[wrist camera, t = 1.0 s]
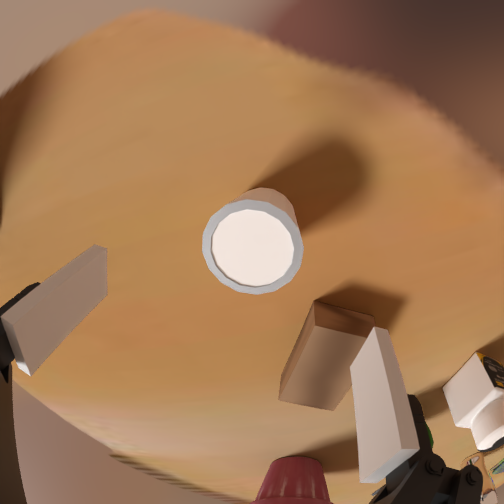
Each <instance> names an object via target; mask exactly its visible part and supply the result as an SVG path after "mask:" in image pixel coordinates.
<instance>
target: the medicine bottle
mask: <svg viewBox="0 0 504 504" xmlns="http://www.w3.org/2000/svg"><path fill="white" fill-rule="evenodd" d="M443 391H444V394H445V397H446V399H447V402H448V405H449V408H450V411H451V414H452V417H453V420H454V423H455V425H456V426H457V427H464V428H471V431H472V434H473V437H474V440H475V443H476V446H477V449H478V451H481V452H487V451H491V450H494V449H496V448H498V447H500V446H502V445H503V444H504V367H503V365H502V364H501V362H499V361H497V360H494V359H492V358H490V357H488V356H486V355H483V354H481V353H479V352H475V353H474V354H473V355H472V356H471V358H470V359H469V360H468V361H467V362H466V363H465V364H464V365H463V367H462V368H461V369H460V370H459V371H458V372H457V373H456V374H455V375H454V376H453V377H452V378H451V379H450V380H449V381H448V382H447V383H446V384H445V385H444V387H443Z"/></svg>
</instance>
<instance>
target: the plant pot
mask: <svg viewBox="0 0 504 504" xmlns="http://www.w3.org/2000/svg"><path fill="white" fill-rule="evenodd" d="M250 504H333V503H332V502H330V498H329V494H328V489H327V485H326V481H325V477H324V474H323V470H322V466H321V464H320V462H318V461H317V460H315V459H312V458H308V457H285V458H281V459H278V460H275V461H274V462H273V463H272V464H271V465H270V468H269V470H268V472H267V475H266V477H265V479H264V481H263V483H262V486H261V488H260V490H259V493H258V495H257V497H256V500H255V501H253V502H251V503H250Z"/></svg>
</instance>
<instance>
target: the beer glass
mask: <svg viewBox="0 0 504 504" xmlns="http://www.w3.org/2000/svg"><path fill="white" fill-rule="evenodd" d="M467 465H475V466H476V467H478V468H479V469H480V471H481V472H482V475H483V488H482V495H481V501H480V504H498V501H497V493H496V488H495V485H494V483H493V480H492V478H491V476H490V474H489V473H488V471H487V469H486V466H485V461H484V453H483V452H479V453H476V454H473V455H471V456H469V457H468V458H466V459H465V460H463V461H462V462H461V464H460V467H461V469H462V468H464V467H465V466H467Z"/></svg>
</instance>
